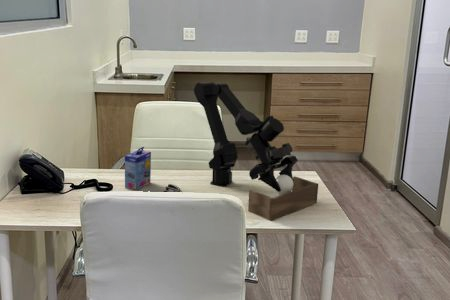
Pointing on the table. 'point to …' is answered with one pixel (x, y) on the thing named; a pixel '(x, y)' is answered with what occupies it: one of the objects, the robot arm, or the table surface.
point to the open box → (284, 200)
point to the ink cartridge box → (137, 169)
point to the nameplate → (172, 188)
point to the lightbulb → (284, 184)
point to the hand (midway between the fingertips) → (286, 189)
